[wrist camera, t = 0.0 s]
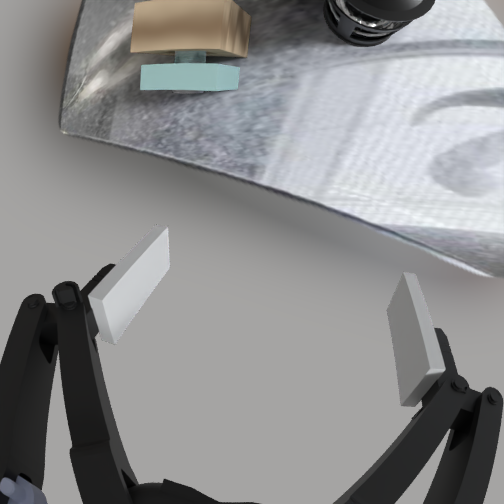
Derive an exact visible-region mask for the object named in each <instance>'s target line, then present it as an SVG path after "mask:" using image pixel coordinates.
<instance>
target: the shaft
mask: <svg viewBox="0 0 504 504" xmlns="http://www.w3.org/2000/svg"><path fill="white" fill-rule="evenodd" d="M206 52H207V51H175V59H174V63H206ZM172 93H203V91H201V90H172Z"/></svg>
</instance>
